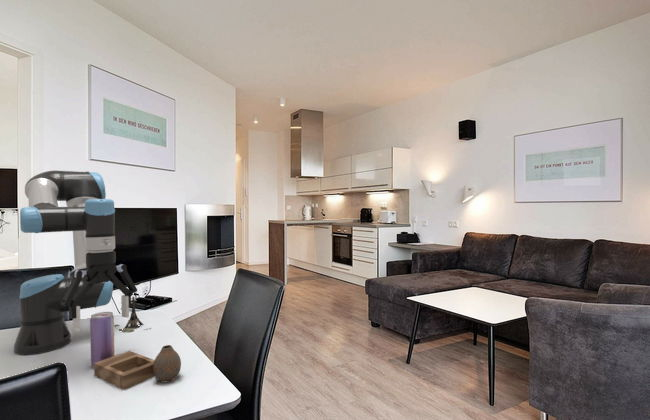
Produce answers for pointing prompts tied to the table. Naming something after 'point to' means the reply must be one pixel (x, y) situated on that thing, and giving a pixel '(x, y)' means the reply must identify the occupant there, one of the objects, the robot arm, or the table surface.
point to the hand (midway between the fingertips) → (102, 322)
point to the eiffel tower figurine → (132, 321)
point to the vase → (167, 364)
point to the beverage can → (101, 336)
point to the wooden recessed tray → (125, 369)
